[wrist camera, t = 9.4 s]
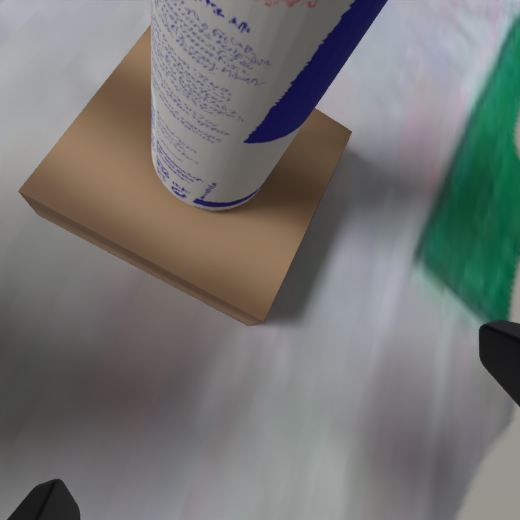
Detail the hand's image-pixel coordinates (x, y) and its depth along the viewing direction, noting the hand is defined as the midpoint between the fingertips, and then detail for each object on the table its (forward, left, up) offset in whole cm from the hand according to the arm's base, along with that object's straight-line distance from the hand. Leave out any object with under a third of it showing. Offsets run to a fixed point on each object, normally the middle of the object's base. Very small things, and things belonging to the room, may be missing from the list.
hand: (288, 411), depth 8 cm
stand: (+9, +5, -12) cm, 16 cm away
